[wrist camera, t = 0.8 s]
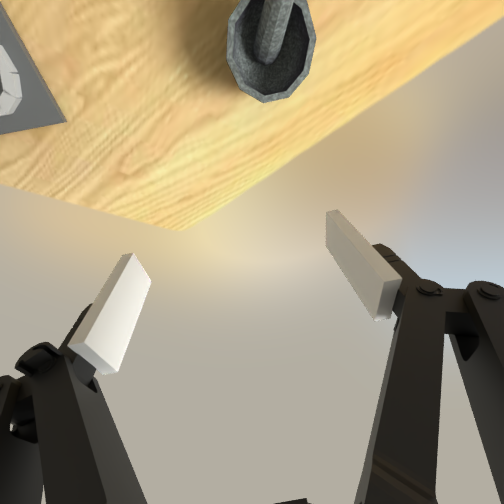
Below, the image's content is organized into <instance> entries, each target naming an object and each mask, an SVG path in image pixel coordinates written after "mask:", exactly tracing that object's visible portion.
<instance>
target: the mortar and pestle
mask: <svg viewBox="0 0 504 504" xmlns="http://www.w3.org/2000/svg"><path fill="white" fill-rule="evenodd" d="M315 43H316V34H315V30H314V26H313V23H312V19H311V15H310V11H309V7H308V3H307V1H306V0H240V2H239V4H238V5H237V7H236V8H235V10H234V11H233V13H232V14H231V16H230V18H229V19H228V36H227V55H226V61H227V63H228V65H229V67H230V69H231V71H232V74H233V76H234V78H235V80H236V82H237V84H238V87H239V89H240V90H242V91H243V92H245V93H247V94H248V95H250V96H252V97H254V98H255V99H257V100H259V101H260V102H262V103H266V102H271V101H275V100H279V99H284V98H288V97H290V95H291V94H292V93H293V92H294V91H295V90H296V88H297V87H298V86H299V85H300V84H301V82H302V81H303V80H304V79H305V78H306V77H307V75H308V74H309V70H310V66H311V61H312V56H313V52H314V47H315Z"/></svg>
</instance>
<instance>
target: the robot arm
mask: <svg viewBox="0 0 504 504" xmlns="http://www.w3.org/2000/svg"><path fill="white" fill-rule="evenodd" d="M326 247H327V249H328V250H329V251H330V253H331V255H332V256H333V257H334V259H335V261H336V262H337V264H338V265H339V267H340V269H341V270H342V272H343V273H344V275H345V276H346V278H347V279H348V281H349V282H350V284H351V285H352V287H353V289H354V290H355V292H356V293H357V295H358V296H359V298H360V300H361V301H362V302H363V304H364V306H365V307H366V309H367V310H368V312H369V313H370V315H371V316H372V318H373V320H374V321H379V320H384V319H389V318H390V317H391V314H392V311H393V312H394V313H395V314H396V316H397V317H398V318H397V321H396V324H395V327H394V334H393V339H392V343H391V348H390V352H389V357H388V361H387V366H386V370H385V374H384V378H383V383H382V387H381V392H380V396H379V400H378V405H377V409H376V414H375V418H374V423H373V427H372V431H371V436H370V440H369V445H368V449H367V454H366V458H365V462H364V467H363V471H362V475H361V479H360V482H359V486H358V489H357V493H356V498H355V502H354V504H438V502H437V500H436V494H435V485H436V468H437V451H438V450H437V449H438V434H439V417H440V399H441V381H442V365H443V347H444V334H449V337H450V340H451V344H452V347H453V350H454V353H455V356H456V360H457V363H458V366H459V369H460V373H461V376H462V379H463V382H464V385H465V389H466V392H467V395H468V398H469V402H470V405H471V408H472V411H473V414H474V418H475V421H476V424H477V427H478V430H479V434H480V437H481V440H482V443H483V446H484V450H485V453H486V456H487V459H488V463H489V465H490V469H491V472H492V476H493V479H494V481H495V485H496V488H497V492H498V495H499V498H500V501H501V504H504V288H503V287H501V286H499V285H496V284H494V283H491V282H486V281H474V282H471V283H469V285H468V286H467V288H466V289H451V288H443V287H442V286H441V285H439V284H438V283H436V282H434V281H431V280H427V279H421V278H420V277H419V276H418V275H417V274H416V273H415V272H414V271H413V270H412V269H411V268H410V267H409V266H408V265H407V264H406V263H405V262H404V261H402V260H401V259H400V258H399V257H398V256H397V255H396V254H395V253H394V252H393V251H392V250H391V249H390V248H388V247H386V246H384V245H382V244H376V245H371V244H370V243H369V242H368V241H367V240H366V239H365V238H364V237H363V236H362V235H361V234H360V233H359V232H358V231H357V229H355V227H354V226H353V225H352V224H351V223H350V222H349V221H348V220H347V219H346V218H345V217H344V216H343V215H342V214H341V212H340V211H338V210H333V211H329V212H326ZM150 285H151V280H150V278H149V277H148V275H147V273H146V272H145V270H144V269H143V267H142V265H141V264H140V263H139V261H138V259H137V258H136V256H135V254H134V253H130V254H125V255H122V257H121V258H120V260H119V262H118V263H117V265H116V266H115V268H114V270H113V271H112V273H111V275H110V276H109V278H108V280H107V281H106V283H105V284H104V286H103V288H102V289H101V291H100V293H99V294H98V296H97V298H96V299H95V301H94V303H92V304H90V305H89V306H88V307H87V308H85V310H84V311H82V313H81V315H80V316H79V318H78V319H77V321H76V322H75V324H74V325H73V328H72V329H71V330H70V332H69V333H68V335H67V336H66V338H65V340H64V341H63V343H62V344H61V346H60V347H59V349H57V348H55V347H54V346H53V345H52V344H50V343H49V342H43V343H39V344H37V345H35V346H33V347H31V348H30V349H29V350H27V351H26V352H25V353H24V354H23V355H22V356H21V357H20V358H19V360H18V361H17V363H16V365H15V369H16V370H18V371H20V372H22V373H24V374H25V376H23V377H20V378H18V379H14V378H13V377H11V376H9V375H5V376H2V377H0V504H41V499H42V492H43V484H44V491H45V498H46V504H147V502H146V499H145V497H144V494H143V492H142V489H141V487H140V484H139V482H138V480H137V477H136V475H135V472H134V470H133V467H132V465H131V462H130V460H129V458H128V455H127V452H126V450H125V448H124V445H123V443H122V440H121V438H120V436H119V433H118V430H117V428H116V425H115V423H114V421H113V418H112V416H111V413H110V411H109V408H108V406H107V403H106V401H105V398H104V396H103V393H102V391H101V389H100V387H99V384H98V381H97V380H96V378H95V377H93V375H94V373H95V371H96V369H97V370H98V371H99V372H100V373H102V374H103V375H105V374H110V373H115V372H118V370H119V367H120V364H121V362H122V359H123V356H124V354H125V351H126V349H127V346H128V343H129V341H130V338H131V335H132V332H133V330H134V327H135V325H136V322H137V319H138V317H139V314H140V311H141V309H142V306H143V303H144V301H145V298H146V295H147V293H148V290H149V287H150ZM10 423H11V424H13V430H12V431H10ZM275 504H310V503H308V502H307V498H303V499H298V500H292V501H287V502H281V503H275Z"/></svg>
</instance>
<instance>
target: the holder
mask: <svg viewBox="0 0 504 504" xmlns="http://www.w3.org/2000/svg"><path fill="white" fill-rule="evenodd" d="M64 122H67V121H66V119H65V117H64V115H63V113H62V112H61V110H60V108H59V106H58V104H57V103H56V101H55V99H54V97H53V96H52V94H51V92H50V90H49V88H48V87H47V85H46V83H45V81H44V79H43V78H42V76H41V74H40V72H39V70H38V69H37V67H36V65H35V63H34V61H33V60H32V58H31V56H30V54H29V53H28V51H27V49H26V47H25V45H24V44H23V42H22V40H21V38H20V36H19V35H18V33H17V31H16V29H15V27H14V26H13V24H12V22H11V20H10V18H9V17H8V15H7V13H6V11H5V10H4V8H3V6H2V4H1V2H0V135H1V134H6V133H11V132H17V131H22V130H27V129H32V128H37V127H43V126H48V125H53V124H58V123H64Z"/></svg>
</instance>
